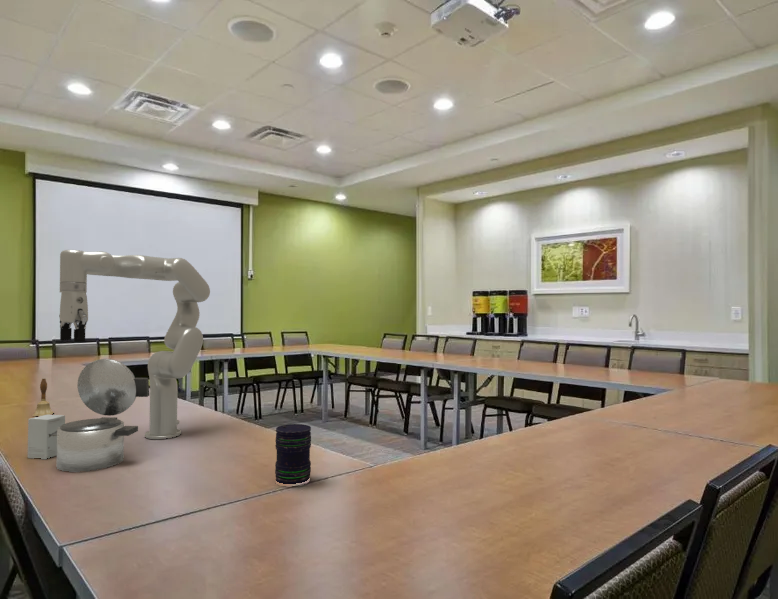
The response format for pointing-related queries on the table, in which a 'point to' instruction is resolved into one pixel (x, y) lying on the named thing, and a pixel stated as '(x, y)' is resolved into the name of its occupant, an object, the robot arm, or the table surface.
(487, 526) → the table surface
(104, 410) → the cooker lid
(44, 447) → the supplement box
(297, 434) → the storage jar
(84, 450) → the cooker pot
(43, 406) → the hand bell
